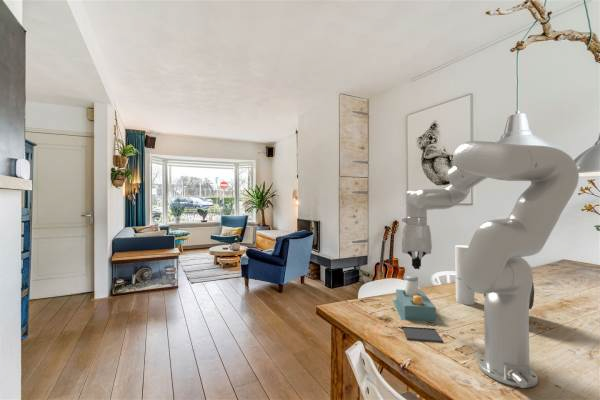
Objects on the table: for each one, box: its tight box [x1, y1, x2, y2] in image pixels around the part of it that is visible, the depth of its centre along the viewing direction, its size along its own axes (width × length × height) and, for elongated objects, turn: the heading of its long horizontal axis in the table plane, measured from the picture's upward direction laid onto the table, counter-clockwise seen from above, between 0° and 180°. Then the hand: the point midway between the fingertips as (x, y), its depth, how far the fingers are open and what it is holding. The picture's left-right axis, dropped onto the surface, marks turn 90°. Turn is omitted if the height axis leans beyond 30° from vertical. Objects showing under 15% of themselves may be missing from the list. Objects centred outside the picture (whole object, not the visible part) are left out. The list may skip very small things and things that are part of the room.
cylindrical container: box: [454, 244, 475, 306], centre depth 122 cm, size 7×7×25 cm
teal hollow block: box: [392, 288, 441, 323], centre depth 111 cm, size 21×14×6 cm, turn 170°
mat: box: [401, 326, 444, 343], centre depth 94 cm, size 11×11×1 cm
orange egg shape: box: [413, 295, 422, 305], centre depth 105 cm, size 3×3×4 cm
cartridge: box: [404, 275, 419, 297], centre depth 115 cm, size 5×5×12 cm
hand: (416, 268), depth 106 cm, fingers closed
